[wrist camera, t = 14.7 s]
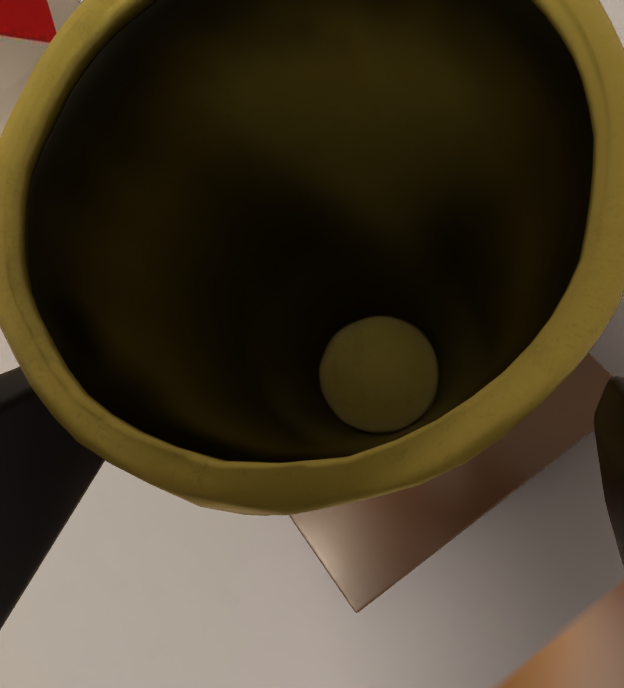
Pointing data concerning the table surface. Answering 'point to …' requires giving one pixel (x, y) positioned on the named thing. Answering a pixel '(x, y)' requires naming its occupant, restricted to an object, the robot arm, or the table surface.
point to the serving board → (447, 495)
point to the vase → (310, 235)
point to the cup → (25, 43)
